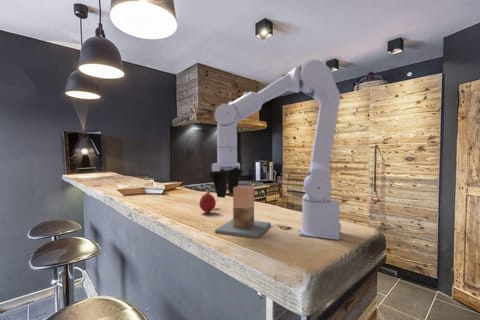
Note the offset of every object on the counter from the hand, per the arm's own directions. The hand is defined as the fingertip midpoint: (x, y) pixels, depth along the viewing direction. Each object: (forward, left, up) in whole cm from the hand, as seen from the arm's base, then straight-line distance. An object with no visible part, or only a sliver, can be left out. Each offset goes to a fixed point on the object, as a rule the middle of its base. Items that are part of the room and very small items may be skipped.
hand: (227, 195), depth 65 cm
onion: (+14, -12, -9) cm, 21 cm away
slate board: (-5, 0, -9) cm, 11 cm away
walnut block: (-5, 0, -8) cm, 10 cm away
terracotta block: (-5, 0, -3) cm, 6 cm away
